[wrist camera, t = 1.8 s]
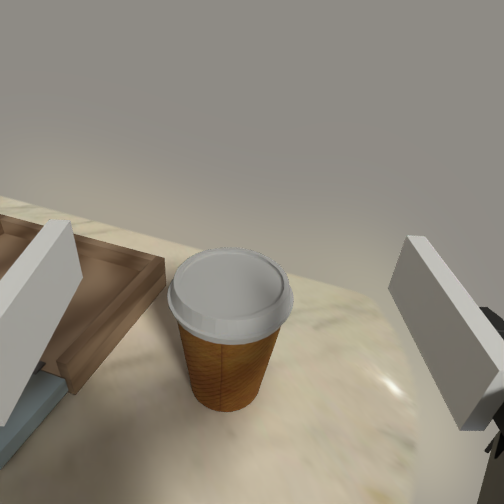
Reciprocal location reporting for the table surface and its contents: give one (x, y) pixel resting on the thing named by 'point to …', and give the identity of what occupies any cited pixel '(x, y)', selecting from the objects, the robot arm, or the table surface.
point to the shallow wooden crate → (78, 322)
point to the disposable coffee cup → (229, 322)
